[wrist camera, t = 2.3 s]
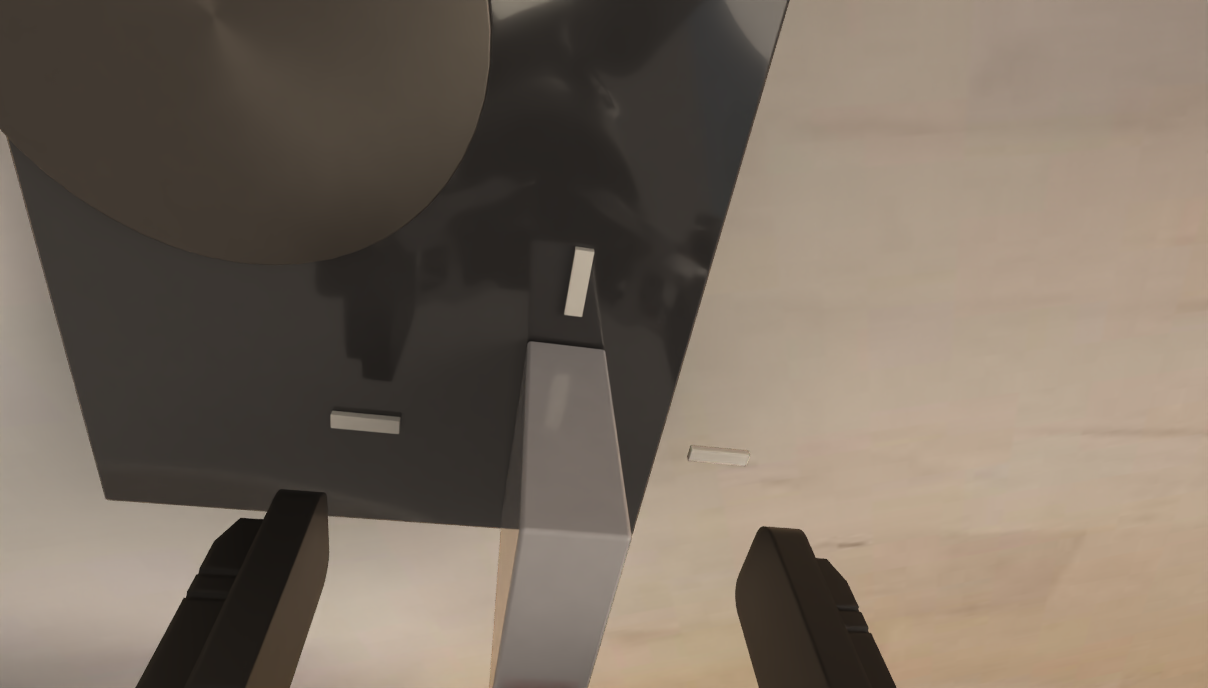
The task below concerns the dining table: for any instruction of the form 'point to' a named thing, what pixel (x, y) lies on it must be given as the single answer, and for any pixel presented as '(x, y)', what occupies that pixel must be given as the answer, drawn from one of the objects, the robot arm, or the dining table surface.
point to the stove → (432, 285)
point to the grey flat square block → (559, 523)
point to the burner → (248, 114)
